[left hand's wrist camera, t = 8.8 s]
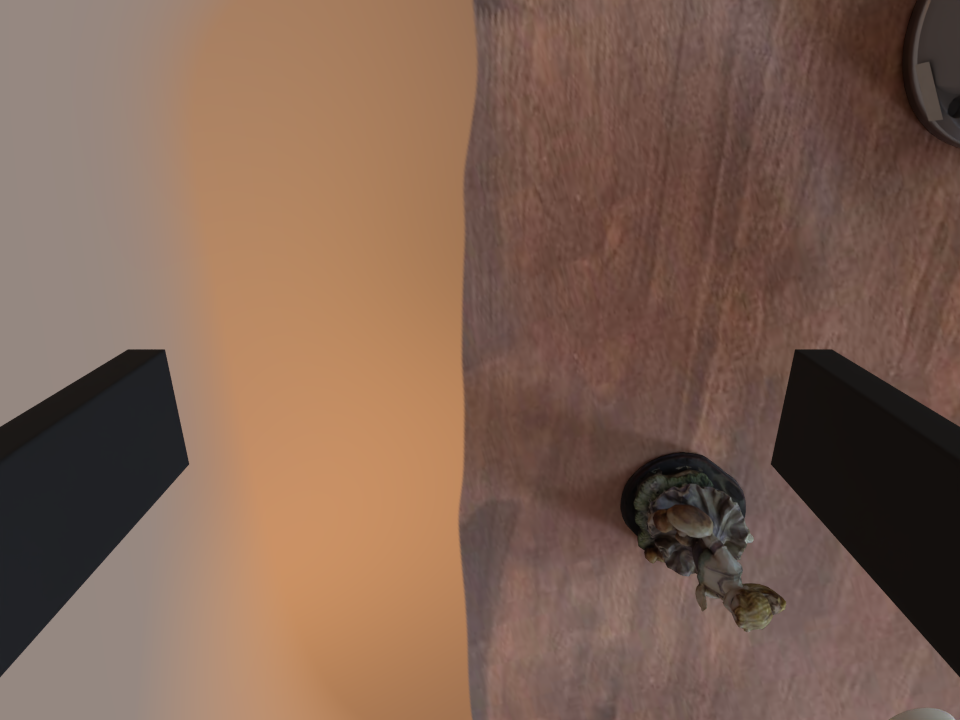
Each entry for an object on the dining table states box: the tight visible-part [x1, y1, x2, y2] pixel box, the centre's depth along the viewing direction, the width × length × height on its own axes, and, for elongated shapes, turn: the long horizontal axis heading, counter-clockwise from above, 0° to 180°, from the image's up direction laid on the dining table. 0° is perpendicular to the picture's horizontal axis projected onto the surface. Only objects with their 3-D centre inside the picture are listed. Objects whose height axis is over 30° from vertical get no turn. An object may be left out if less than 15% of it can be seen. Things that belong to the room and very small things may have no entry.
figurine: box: [621, 452, 786, 632], centre depth 46 cm, size 12×11×15 cm
